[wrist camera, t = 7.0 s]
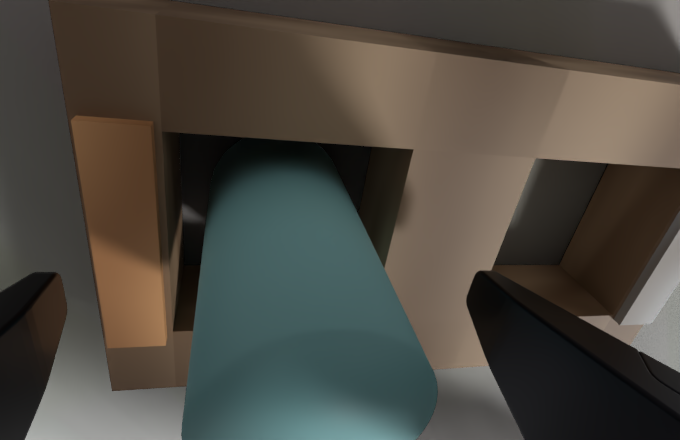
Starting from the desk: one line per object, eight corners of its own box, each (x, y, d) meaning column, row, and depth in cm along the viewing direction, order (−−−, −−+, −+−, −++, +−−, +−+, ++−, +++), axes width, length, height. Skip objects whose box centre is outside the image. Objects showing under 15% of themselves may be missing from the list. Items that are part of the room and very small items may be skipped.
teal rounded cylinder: (348, 136, 13) (468, 324, 6) (330, 246, 15) (406, 480, 8) (210, 125, 12) (176, 334, 5) (209, 245, 14) (184, 509, 7)
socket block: (694, 75, 14) (803, 102, 12) (571, 304, 19) (628, 362, 16) (95, -11, 10) (41, 1, 7) (133, 317, 15) (109, 400, 12)
